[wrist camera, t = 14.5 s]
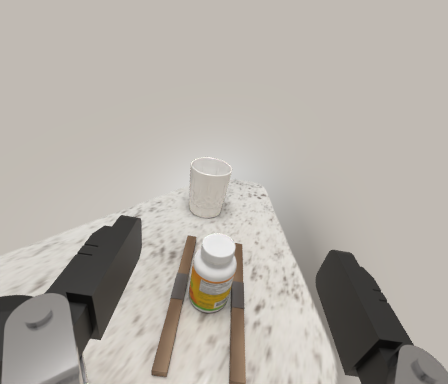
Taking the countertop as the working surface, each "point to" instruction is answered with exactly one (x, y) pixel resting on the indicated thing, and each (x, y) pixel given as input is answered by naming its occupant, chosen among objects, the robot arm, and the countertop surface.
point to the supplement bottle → (212, 273)
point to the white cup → (208, 186)
